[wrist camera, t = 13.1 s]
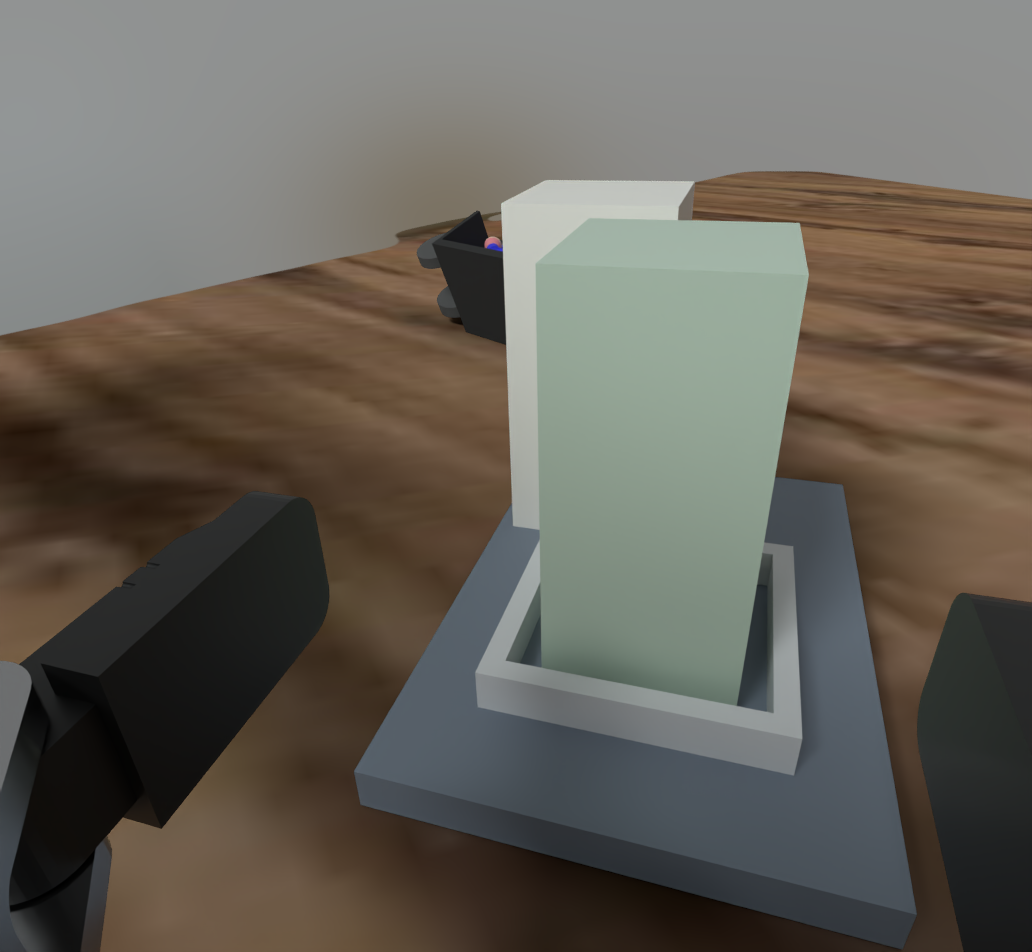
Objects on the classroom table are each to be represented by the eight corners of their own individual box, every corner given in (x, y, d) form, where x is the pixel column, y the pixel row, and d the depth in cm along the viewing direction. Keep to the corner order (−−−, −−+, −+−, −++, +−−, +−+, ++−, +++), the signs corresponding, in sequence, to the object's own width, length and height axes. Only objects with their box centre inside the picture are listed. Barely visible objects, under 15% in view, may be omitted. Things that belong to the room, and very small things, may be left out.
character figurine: (480, 312, 55) (634, 360, 45) (400, 326, 51) (552, 384, 41) (481, 202, 52) (649, 229, 42) (396, 207, 47) (560, 239, 37)
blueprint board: (360, 804, 18) (346, 735, 16) (542, 475, 32) (542, 425, 31) (902, 949, 14) (932, 877, 13) (836, 510, 29) (848, 457, 27)
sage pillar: (541, 679, 19) (535, 263, 14) (582, 571, 24) (589, 218, 18) (734, 718, 18) (808, 275, 13) (741, 596, 22) (799, 223, 17)
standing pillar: (512, 525, 26) (501, 203, 21) (548, 462, 30) (546, 180, 25) (652, 545, 25) (678, 206, 19) (669, 476, 29) (695, 181, 24)
